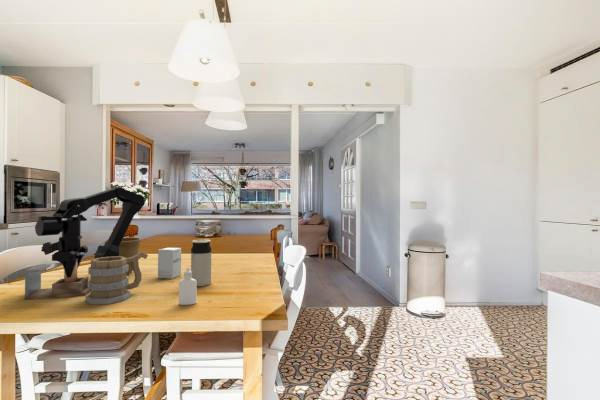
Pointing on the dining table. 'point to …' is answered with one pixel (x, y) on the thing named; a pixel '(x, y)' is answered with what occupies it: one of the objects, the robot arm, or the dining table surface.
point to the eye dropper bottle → (187, 289)
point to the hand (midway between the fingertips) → (70, 276)
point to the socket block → (58, 287)
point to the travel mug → (201, 262)
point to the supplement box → (169, 262)
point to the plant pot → (129, 249)
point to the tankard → (112, 278)
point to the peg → (73, 276)
